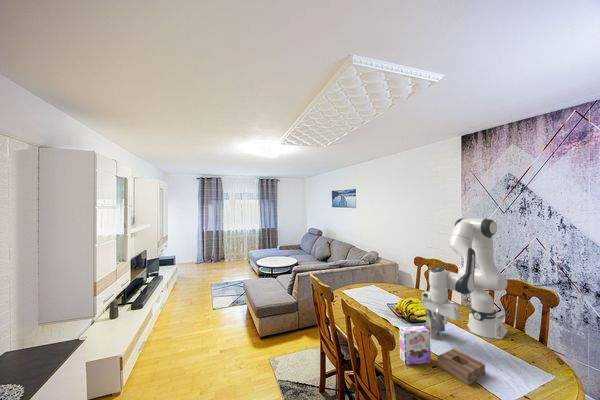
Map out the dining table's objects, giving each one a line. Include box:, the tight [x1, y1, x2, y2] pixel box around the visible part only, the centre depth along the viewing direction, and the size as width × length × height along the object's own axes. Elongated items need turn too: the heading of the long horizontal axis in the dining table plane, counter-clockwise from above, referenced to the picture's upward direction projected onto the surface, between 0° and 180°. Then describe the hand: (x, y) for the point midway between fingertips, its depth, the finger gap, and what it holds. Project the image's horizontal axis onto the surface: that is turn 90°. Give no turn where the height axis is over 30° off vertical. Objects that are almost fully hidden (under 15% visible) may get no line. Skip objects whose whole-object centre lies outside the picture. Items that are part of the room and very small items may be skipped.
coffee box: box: [425, 308, 443, 340], centre depth 144 cm, size 9×6×16 cm
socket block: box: [436, 348, 486, 386], centre depth 113 cm, size 14×14×5 cm
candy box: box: [398, 325, 432, 366], centre depth 121 cm, size 14×6×16 cm, turn 94°
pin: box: [436, 309, 446, 333], centre depth 132 cm, size 4×4×12 cm
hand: (440, 321), depth 132 cm, fingers closed on pin, 4 cm apart
